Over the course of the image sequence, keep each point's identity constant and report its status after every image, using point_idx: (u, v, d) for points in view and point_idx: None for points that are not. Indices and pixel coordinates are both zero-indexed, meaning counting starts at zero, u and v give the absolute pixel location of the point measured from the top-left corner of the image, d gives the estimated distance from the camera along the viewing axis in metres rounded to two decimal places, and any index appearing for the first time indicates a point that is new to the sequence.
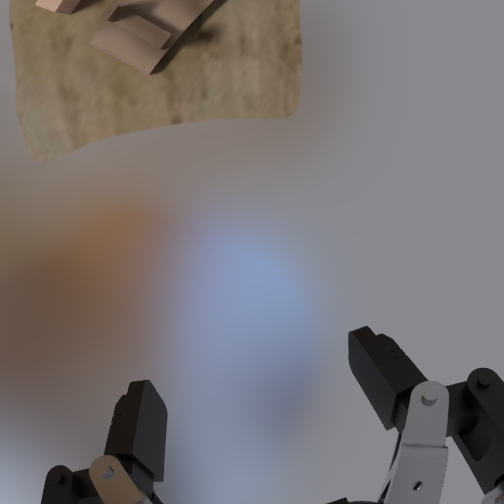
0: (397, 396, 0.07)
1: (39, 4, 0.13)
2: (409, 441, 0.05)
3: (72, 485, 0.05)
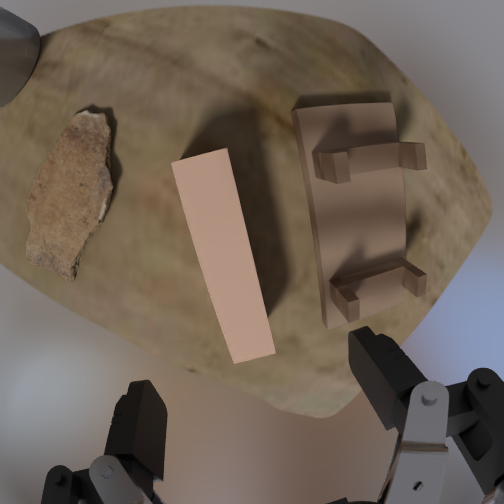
0: (397, 396, 0.07)
1: (241, 360, 0.22)
2: (409, 441, 0.05)
3: (72, 485, 0.05)
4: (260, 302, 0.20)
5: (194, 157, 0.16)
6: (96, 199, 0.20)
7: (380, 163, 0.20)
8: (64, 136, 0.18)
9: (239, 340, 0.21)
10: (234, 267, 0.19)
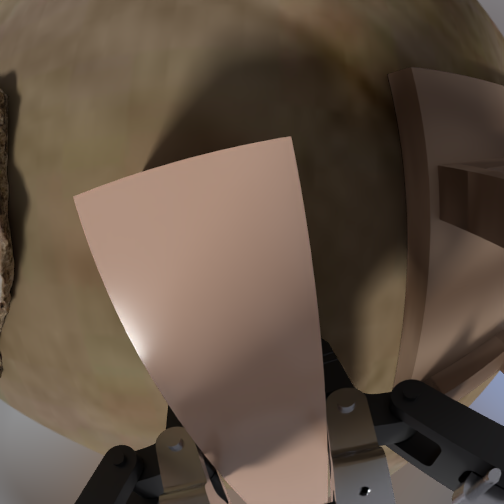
0: None
1: None
2: (338, 451, 0.05)
3: (137, 465, 0.06)
4: (321, 473, 0.08)
5: (157, 172, 0.04)
6: None
7: None
8: None
9: None
10: (282, 447, 0.07)
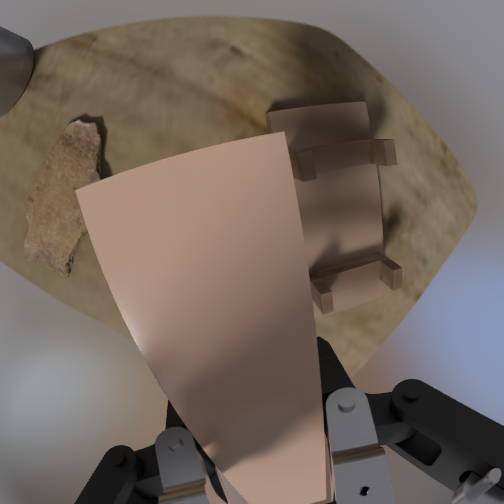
0: None
1: None
2: (339, 451, 0.05)
3: (136, 465, 0.06)
4: (319, 469, 0.08)
5: (155, 166, 0.04)
6: None
7: (351, 160, 0.21)
8: (59, 143, 0.19)
9: (272, 501, 0.09)
10: (279, 441, 0.07)
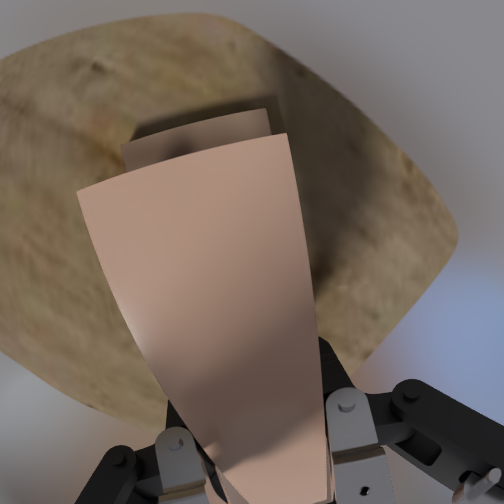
0: None
1: None
2: (339, 451, 0.05)
3: (136, 465, 0.06)
4: (320, 469, 0.08)
5: (157, 168, 0.04)
6: None
7: None
8: None
9: (272, 501, 0.09)
10: (280, 442, 0.07)
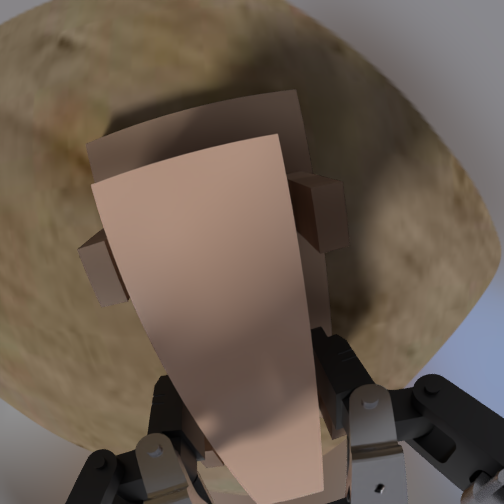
0: (338, 396, 0.07)
1: (269, 502, 0.10)
2: (358, 447, 0.05)
3: (117, 469, 0.06)
4: (315, 457, 0.09)
5: (164, 164, 0.05)
6: None
7: None
8: None
9: (270, 491, 0.09)
10: (276, 426, 0.07)
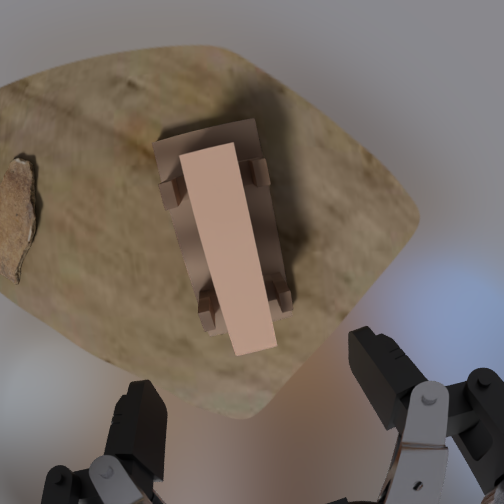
0: (397, 396, 0.07)
1: (243, 352, 0.22)
2: (409, 441, 0.05)
3: (72, 485, 0.05)
4: (263, 294, 0.21)
5: (201, 150, 0.17)
6: (26, 226, 0.23)
7: None
8: (5, 177, 0.21)
9: (241, 332, 0.22)
10: (238, 258, 0.20)
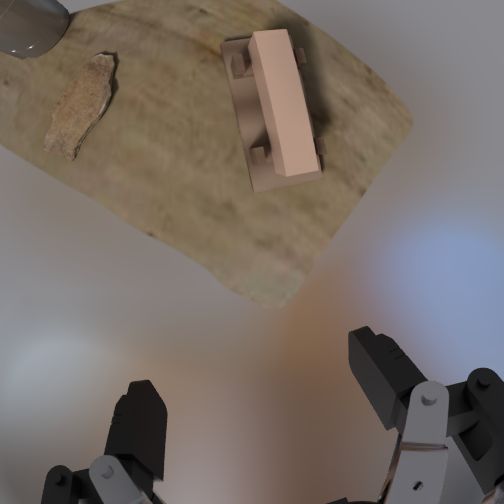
0: (397, 396, 0.07)
1: (292, 173, 0.28)
2: (409, 441, 0.05)
3: (72, 485, 0.05)
4: (307, 122, 0.26)
5: (267, 31, 0.22)
6: (99, 102, 0.28)
7: None
8: (85, 67, 0.26)
9: (291, 152, 0.27)
10: (290, 94, 0.25)
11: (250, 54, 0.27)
